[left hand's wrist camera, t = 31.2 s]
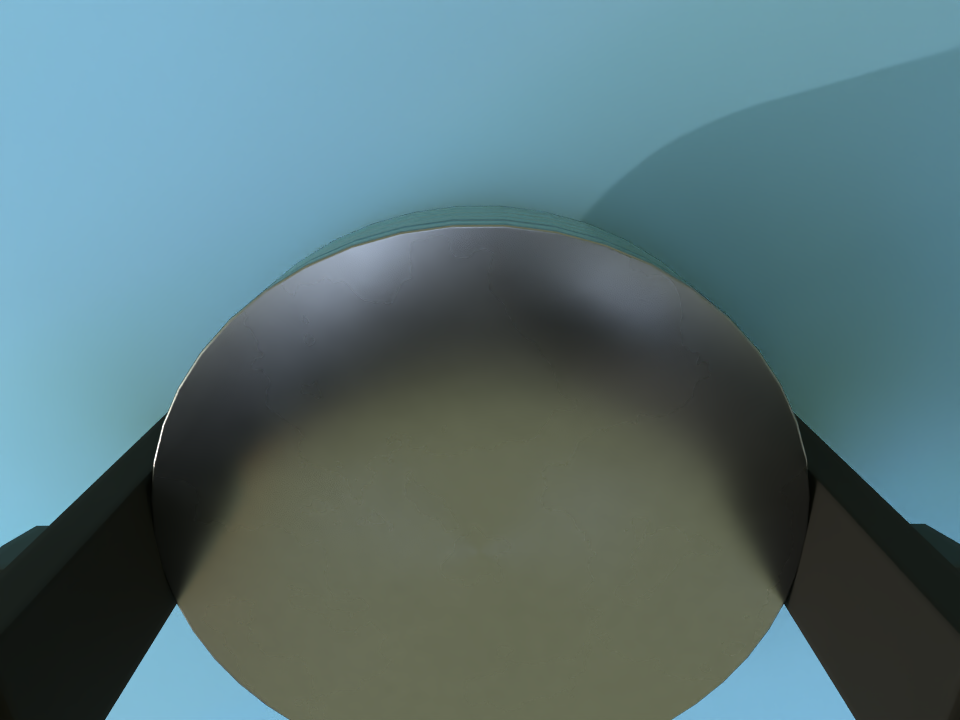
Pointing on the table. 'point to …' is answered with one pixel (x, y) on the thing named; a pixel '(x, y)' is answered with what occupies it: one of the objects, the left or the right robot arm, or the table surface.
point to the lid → (480, 480)
